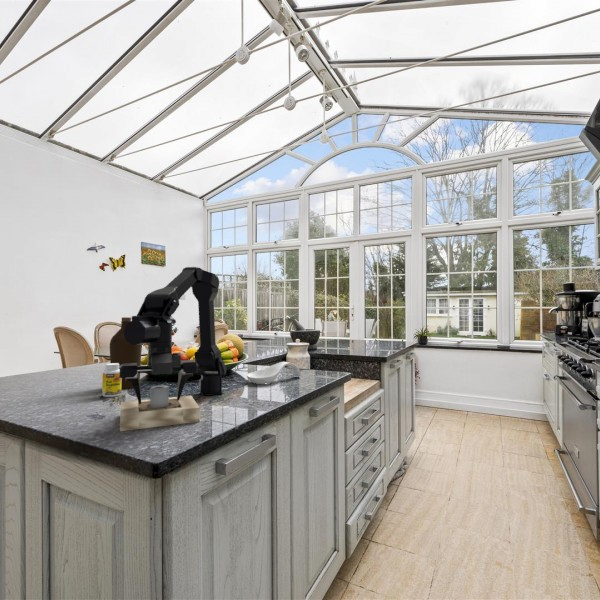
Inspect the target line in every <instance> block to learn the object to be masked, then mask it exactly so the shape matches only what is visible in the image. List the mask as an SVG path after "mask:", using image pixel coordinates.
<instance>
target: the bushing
mask: <svg viewBox="0 0 600 600" xmlns="http://www.w3.org/2000/svg"><path fill="white" fill-rule="evenodd" d="M149 389H150V390H149V399H150V408H161V407H167V406H169V398H170V395H169V394H170V390H169V389H170V386H169V385H155V386H151V387H150V388H149Z"/></svg>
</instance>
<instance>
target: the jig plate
mask: <svg viewBox="0 0 600 600" xmlns="http://www.w3.org/2000/svg"><path fill="white" fill-rule="evenodd" d="M200 410H201V409H200V405H198V403H197V402H196V400H195V399H194V398H193V396H192V395H184V396H182V395H181V396H180V399H179V400H177V396H174V397H173V396H172V397H170V396H169V406H167V407H161V408H150V398H149V399H141V404H139V402H138V400H128V401H120V412H119V413H120V415H119V416H120V417H119V431H120V432H126V431H133V430H134V431H135V430H139V429H140V430H141V429H142V430H143V429H151V428H156V427H157V428H158V427H165V426H174V425H181V424H191V423H199V422H200V421H201V420H200V417H201V416H200V415H201V414H200V413H201V411H200Z"/></svg>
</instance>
